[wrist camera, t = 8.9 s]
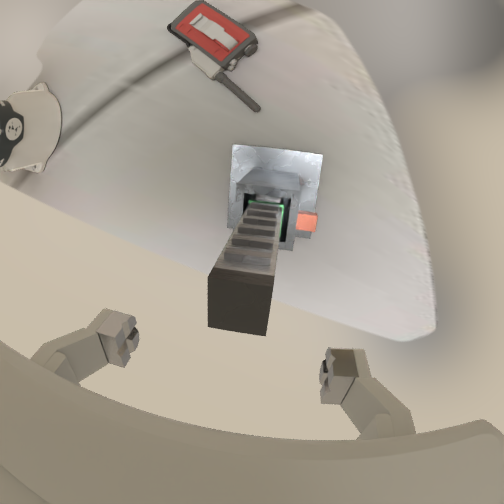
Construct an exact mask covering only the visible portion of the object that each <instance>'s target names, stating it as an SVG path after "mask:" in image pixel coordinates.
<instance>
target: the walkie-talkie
mask: <svg viewBox="0 0 504 504" xmlns="http://www.w3.org/2000/svg"><path fill="white" fill-rule="evenodd" d="M167 29H168V31H169V32H171V33H172V34H174V35H175V36H176V37H178V38H179V39H181V40H182V41H183V42H185V43H186V45H187V47H188V50H189V51H190V53H191V60H192V63H193V64H195V65H196V66H197V67H198V68H200V69H201V70H202V71H203V72H205V73H206V74H207V76H208V77H209V78H210V79H212V80H215V79H217V80H218V81H219V82H220V83H223V84H224V85H225V86H226V87H227V88H229V89H230V90H231V91H232V92H233V93H234V94H236V95H237V96H238V97H239V98H240V99H241V100H242V101H243V102H244V103H246V104H247V105H248V106H249V107H250V108H251V109H252V110H253V111H254V112H258V111H260V106H259V105H258V104H257V103H256V102H254V101H253V100H252V99H251V98H250V97H249V96H248V95H247V94H246V93H244V92H243V91H242V90H241V89H240V88H239V87H238V86H236V85H235V84H234V83H233V82H232V81H231V80H229V79H228V78H227V76H226V75H225V74H224V73H223V71H224V70H230V71H233V70H234V68H235V67H234V65H235V64H236V63H237V61H238V60H239V59H240V58H242V57H243V56H244V55H246V56H250V55H252V54H253V53H254V52H255V51H256V50H257V45H256V44H258V42H257V38H256V36H255V34H254V33H253V32H251V31H249V30H248V29H246V28H245V27H244V26H243V25H242V24H240V23H238V22H236V21H235V20H234V19H231V18H230V17H228V16H227V15H225V13H222V11H220V10H217V8H215V7H214V6H212V5H209V3H207V2H206V1H205V2H204V0H198V1H195V2H193V3H192V4H191V5H190V6H189V7H188V8H187V9H185V10H184V11H183V12H182V13H181V14H180V15H179V16H178V17H177V18H176V19H175V20H174V21H173V22H172V23H170V24H169V25H168V26H167ZM173 31H174V32H173ZM188 42H189V43H190V44H192V45H193V46H192V47H191V46H190V44H189V43H188Z"/></svg>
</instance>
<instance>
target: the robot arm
mask: <svg viewBox="0 0 504 504" xmlns="http://www.w3.org/2000/svg"><path fill="white" fill-rule="evenodd" d="M60 130H61V111H60V106H59V103H58V101H57V99H56V97H55V96H54V95H53V94H51V93H50V92H49V91H48V88H47V85H46V83H45V82H42V83H39V84H38V85H36V86H35V87H33V88H32V89H31V90H29V91H19V92H14V93H13V94H12V95H11V96H9V98H8V99H7V100H6V101H0V167H2V166H4V171H10V172H11V171H15V170H19V169H25V170H29V171H32V172H36V173H40V172H43V170H44V167H45V164H46V161H47V159H48V158H49V156H50V155H51V154H52V152H53V151H54V149H55V147H56V145H57V142H58V139H59V135H60ZM135 325H136V319H135V317H134V316H132V315H128V314H124V313H121V312H118V311H113V310H110V309H107V308H106V309H103V310H102V311H101V312H100V313H99V314H98V316H97V317H96V318H95V319H94V320H93V321H92V322H91V324H90V325H89V326H88V327H87V328H86V329H85V328H82V329H80V330H77V331H75V332H72V333H70V334H67V335H65V336H62V337H59V338H57V339H55V340H52V341H50V342H47V343H44V344H43V345H42V346H41V347H40V348H39V350H38V351H37V352H36V353H35V354H34V355H33V357H32V358H31V359H28V358H26V357H25V356H23V355H21V354H20V353H18V352H17V351H15V350H14V349H12V348H10V347H9V346H8V345H6V344H5V343H3V342H2V341H0V504H504V435H503V434H502V433H501V432H500V431H499V430H498V429H497V428H495V427H494V426H493V425H492V424H491V423H489V422H487V421H486V420H483V419H481V420H476V421H472V422H468V423H465V424H461V425H457V426H453V427H449V428H445V429H440V430H435V431H430V432H425V433H418V434H416V431H415V427H414V423H413V420H412V416H411V413H410V410H409V409H408V408H407V407H406V406H405V405H403V404H402V403H401V402H400V401H399V400H398V399H397V398H396V397H395V396H394V395H393V394H392V393H391V392H390V391H388V390H387V389H386V388H385V387H384V386H383V385H382V384H381V383H380V382H379V381H378V380H377V379H376V378H372V377H371V373H370V369H369V365H368V361H367V358H366V354H365V351H364V349H349V348H331V347H328V349H327V351H326V354H325V355H326V359H325V360H324V361H323V362H322V365H321V368H320V376H319V380H320V383H321V385H322V388H321V391H320V396H321V403H322V404H339V405H341V407H342V408H343V410H344V411H345V413H346V414H347V415H348V417H349V418H350V419H351V421H352V422H353V424H354V425H355V426H356V428H357V429H358V430H359V432H360V433H361V435H360V436H359V437H358V438H357V439H356V440H337V441H336V440H335V441H334V440H333V441H332V440H328V441H327V440H295V439H281V438H270V437H261V436H253V435H246V434H239V433H233V432H226V431H221V430H216V429H211V428H206V427H201V426H197V425H192V424H188V423H184V422H180V421H176V420H173V419H169V418H165V417H162V416H158V415H155V414H152V413H149V412H146V411H142V410H139V409H136V408H134V407H130V406H128V405H125V404H122V403H119V402H117V401H114V400H112V399H109V398H107V397H104V396H102V395H99V394H97V393H95V392H92V391H90V390H87V389H85V388H83V387H81V385H80V384H79V382H80V381H81V380H83V379H85V378H86V377H88V376H89V375H91V374H93V373H94V372H96V371H98V370H99V369H101V368H102V367H104V366H106V365H107V364H108V363H110V364H114V365H117V366H120V367H125V366H126V364H127V362H128V361H129V359H130V358H131V357H130V353H131V352H133V351H135V349H136V348H137V346H138V342H139V332H138V330H137V329H136V328H135Z"/></svg>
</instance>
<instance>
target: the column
mask: <svg viewBox="0 0 504 504" xmlns="http://www.w3.org/2000/svg"><path fill="white" fill-rule="evenodd" d="M283 200H284V198H283V197H276V196H268V195H259V194H255V195H254V197H253V198H252V200H251V199H250V201H249V205H248V207H247V209H246V210H245V212H244V214H243V216H242V217H241V219H240V221H239V223H238V224H237V226H236V228H235V230H234V231H233V233H232V235H231V237H230V238H229V240H228V242H227V244H226V245H225V247H224V249H223V251H222V253H221V254H220V256H219V258H218V260H217V261H216V263H215V265H214V267H213V269H212V270H211V272H210V274H209V276H208V327H211V328H217V329H223V330H228V331H235V332H240V333H247V334H253V335H261V336H266V331H267V324H268V318H269V312H270V305H271V298H272V292H273V285H274V277H275V269H276V261H277V253H278V244H279V238H280V233H281V226H282V218H283V210H284V203H283Z"/></svg>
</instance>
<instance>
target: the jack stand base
mask: <svg viewBox="0 0 504 504" xmlns="http://www.w3.org/2000/svg"><path fill="white" fill-rule="evenodd" d="M322 157H323V155H322V154H317V153H310V152H303V151H296V150H288V149H280V148H271V147H261V146H250V145H238V144H233V149H232V162H231V176H230V191H229V207H228V223H227V228H233V231H234V230H235V228H236V226H237V224H238V223H239V221H240V219H241V217H242V216H243V214H244V212H245V210H246V209H247V207H248V205H249V201H250V199H251V200H252V198H253V197H254V195H255V194H259V195H268V196H276V197H283V198H284V200H283V203H284V210H283V218H282V226H281V233H280V238H279V244H278V249H282V250H289V251H292V250H293V244H294V238H295V237H302V238H309V239H310V236H311V232H315V229H316V223H317V217H318V216H317V213H314V212H315V206H316V200H317V193H318V186H319V179H320V172H321V165H322Z"/></svg>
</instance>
